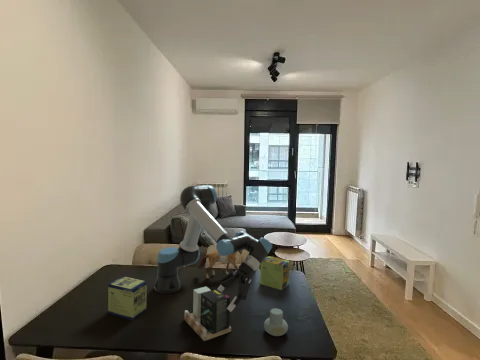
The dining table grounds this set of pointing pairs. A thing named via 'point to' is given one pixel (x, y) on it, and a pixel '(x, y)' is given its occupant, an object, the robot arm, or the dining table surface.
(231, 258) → the horse figurine
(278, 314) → the air freshener
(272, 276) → the protein box
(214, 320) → the tampon box
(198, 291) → the sage carton
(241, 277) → the robot arm
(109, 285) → the protein box
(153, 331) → the dining table surface
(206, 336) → the pale wooden board
